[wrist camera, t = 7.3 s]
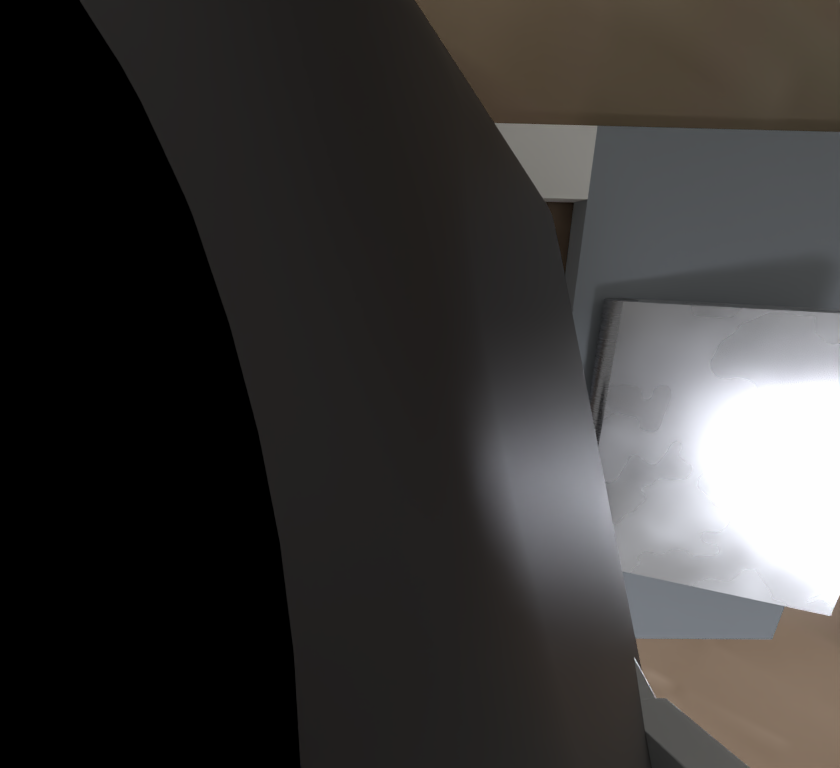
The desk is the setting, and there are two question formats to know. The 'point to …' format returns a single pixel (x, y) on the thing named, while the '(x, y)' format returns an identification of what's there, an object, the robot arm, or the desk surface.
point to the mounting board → (690, 264)
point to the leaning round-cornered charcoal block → (289, 407)
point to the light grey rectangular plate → (723, 445)
